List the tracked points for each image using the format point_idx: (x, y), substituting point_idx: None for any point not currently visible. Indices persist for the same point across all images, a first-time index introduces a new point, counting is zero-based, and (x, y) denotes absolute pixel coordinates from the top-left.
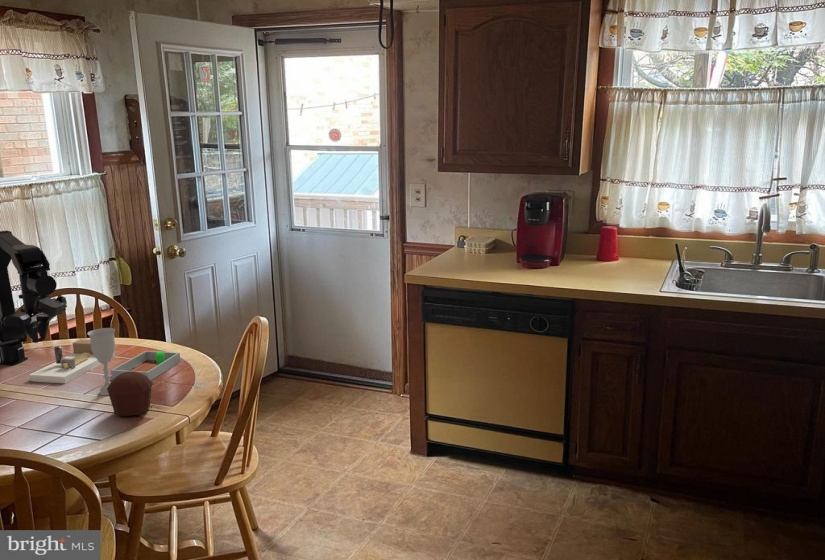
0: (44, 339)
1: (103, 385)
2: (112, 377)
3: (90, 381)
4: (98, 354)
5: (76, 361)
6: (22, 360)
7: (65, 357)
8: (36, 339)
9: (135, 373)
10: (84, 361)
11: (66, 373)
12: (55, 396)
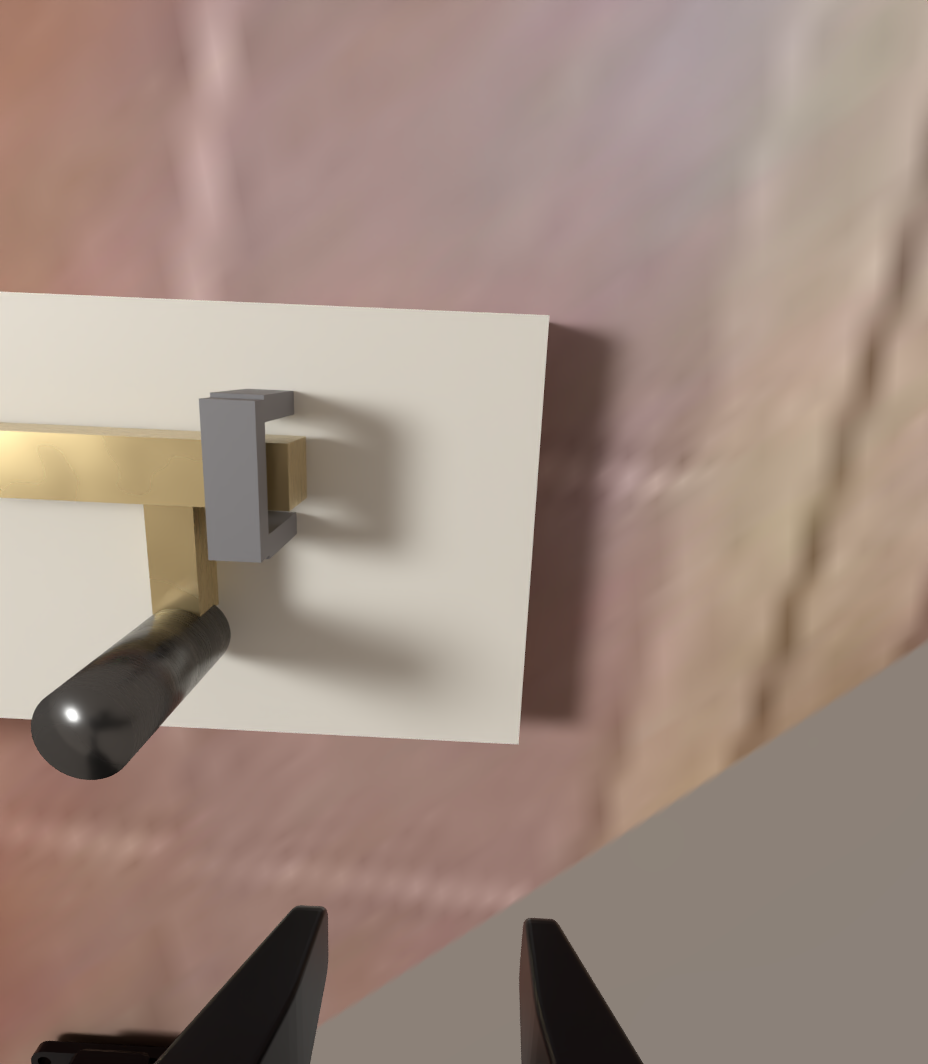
0: (314, 908)
1: None
2: None
3: (452, 53)
4: None
5: (140, 433)
6: (105, 1050)
7: None
8: (597, 989)
9: None
10: (31, 420)
11: (434, 373)
12: (912, 174)
